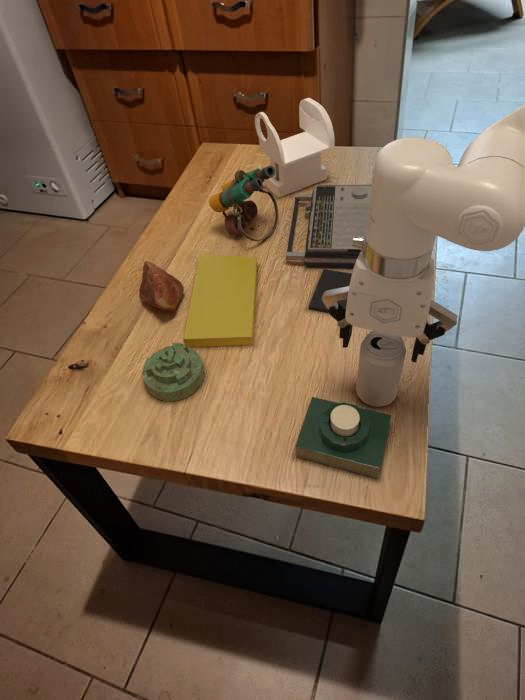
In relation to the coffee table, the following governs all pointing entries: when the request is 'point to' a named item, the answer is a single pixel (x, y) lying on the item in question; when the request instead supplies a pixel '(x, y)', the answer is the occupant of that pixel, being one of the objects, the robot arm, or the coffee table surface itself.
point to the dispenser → (343, 439)
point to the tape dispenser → (297, 149)
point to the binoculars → (242, 200)
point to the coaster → (329, 288)
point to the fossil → (160, 287)
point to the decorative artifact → (173, 372)
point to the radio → (332, 225)
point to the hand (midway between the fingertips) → (380, 347)
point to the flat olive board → (222, 302)
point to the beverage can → (380, 368)
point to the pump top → (344, 420)
